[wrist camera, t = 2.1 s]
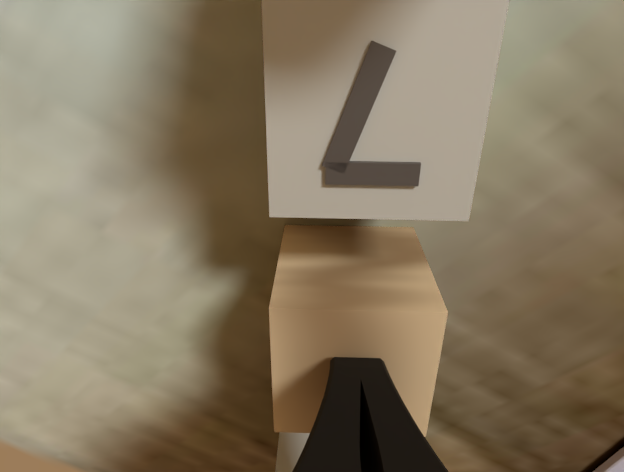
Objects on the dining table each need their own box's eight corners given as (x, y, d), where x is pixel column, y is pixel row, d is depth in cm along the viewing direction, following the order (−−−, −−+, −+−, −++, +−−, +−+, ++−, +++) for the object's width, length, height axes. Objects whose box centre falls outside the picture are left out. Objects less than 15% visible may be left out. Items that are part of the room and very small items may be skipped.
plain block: (412, 226, 16) (448, 312, 11) (400, 329, 18) (425, 436, 13) (285, 224, 16) (268, 308, 11) (287, 326, 18) (273, 431, 13)
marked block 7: (444, 0, 12) (512, -7, 8) (424, 156, 15) (470, 223, 10) (283, -2, 13) (260, -9, 8) (286, 154, 15) (268, 219, 10)
